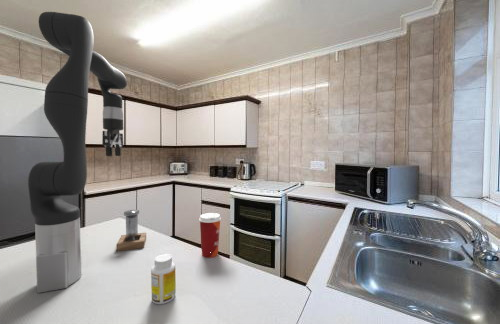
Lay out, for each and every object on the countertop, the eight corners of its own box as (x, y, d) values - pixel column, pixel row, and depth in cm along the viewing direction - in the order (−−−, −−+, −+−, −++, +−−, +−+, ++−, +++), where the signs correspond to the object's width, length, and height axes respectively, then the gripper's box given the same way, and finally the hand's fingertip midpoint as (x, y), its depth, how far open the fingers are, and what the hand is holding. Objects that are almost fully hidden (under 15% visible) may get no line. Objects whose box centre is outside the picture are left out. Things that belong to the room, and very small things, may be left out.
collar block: (144, 247, 81) (143, 240, 81) (116, 251, 78) (116, 244, 78) (146, 238, 90) (146, 232, 89) (121, 241, 86) (121, 235, 86)
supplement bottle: (177, 289, 57) (177, 252, 56) (172, 304, 51) (172, 262, 51) (155, 291, 56) (155, 252, 56) (147, 306, 50) (147, 263, 50)
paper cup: (223, 257, 74) (223, 217, 74) (200, 261, 72) (200, 219, 71) (218, 247, 82) (218, 211, 81) (197, 251, 79) (197, 213, 78)
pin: (138, 246, 82) (138, 212, 82) (123, 248, 80) (122, 213, 80) (140, 240, 87) (139, 209, 86) (125, 242, 85) (125, 210, 85)
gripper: (115, 116, 87) (116, 156, 88) (128, 121, 101) (129, 155, 102) (94, 115, 86) (95, 156, 86) (111, 120, 100) (111, 155, 100)
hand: (113, 156), depth 94 cm, fingers open, 8 cm apart
